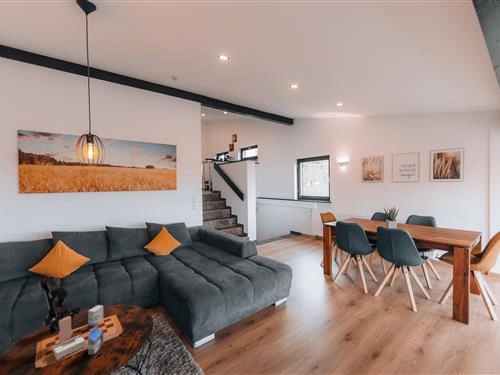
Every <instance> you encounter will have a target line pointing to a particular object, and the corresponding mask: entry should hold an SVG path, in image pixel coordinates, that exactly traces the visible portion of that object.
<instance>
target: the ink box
mask: <svg viewBox="0 0 500 375" xmlns="http://www.w3.org/2000/svg"><path fill="white" fill-rule="evenodd" d="M87 314H88V315H87V318H88V321H87V324H88V326H94V325H96V324H97V323H99V322H100V321H102V320H103V321H104V305H100V304H98V305H96V306H94V307H92V308H91V309H89V310H88V313H87Z"/></svg>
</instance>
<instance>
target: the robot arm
mask: <svg viewBox="0 0 500 375" xmlns="http://www.w3.org/2000/svg"><path fill="white" fill-rule="evenodd" d="M38 288H39V289H40V291H41V292H43V293H44V295H45V299H46V304H47V309H48V312H47V315H46V317H45V318H44V320H43V322H42V327H43V328H44V327H48V329H47V330H46V332H48V333H49V334H50V335H51V334H54V333H56V332H58V333H59V332H60V329H59V324H58V321H59V320H61V319H64V318H66V317H69V316H70V317H71V328H72V327H73V323H74V317H76V315H78V314H80V312H81V311H82V308H81V307H80V306H77V307H73V304H72V302H68V303H67V304H66V299H67V297H68V294H69V293H68V291H67V290H66V289H65V288H64V287H63V286H62V285H58V283H57V282H56V279H55V277H54V276H48V277H45V278H43V279H42V280H39V282H38ZM71 308H72V310H71V311H70V309H71Z"/></svg>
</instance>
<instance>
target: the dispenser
mask: <svg viewBox="0 0 500 375" xmlns="http://www.w3.org/2000/svg"><path fill="white" fill-rule="evenodd" d="M84 346H85V347H86V340H85V338H83V336H82V335H81V334H79V335H77V336H74V337H71V338H69V339H67V340H64V341H62V343H61V342H60V343H59V344H57V345H54V346H52V353H53V352H54V354H55V356H56V358H55V360H56V361H58V360H60V358H61V359H62V357H63V356H65V355H67V354H69V353H71V354H73V353H75V352H77V351H79V350H81V349H83V348H85V347H84ZM82 347H83V348H82ZM74 351H75V352H74ZM72 352H73V353H72ZM69 355H70V354H69ZM55 356H54V357H55ZM67 356H68V355H67ZM65 357H66V356H65ZM63 358H64V357H63Z"/></svg>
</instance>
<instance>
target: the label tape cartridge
mask: <svg viewBox="0 0 500 375" xmlns="http://www.w3.org/2000/svg"><path fill="white" fill-rule="evenodd" d="M87 340H88V342H87V344H88V346H87V350H88V351H87V352H88V355H95V354H96V353H97V352H98V351H100V349H101V347H103V346H104V331H101V330H100V329H99V328H98V325H97V326H96V327H94V328H93V329H92V330H91V331H90V332H89V333H88V334H87Z"/></svg>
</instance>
